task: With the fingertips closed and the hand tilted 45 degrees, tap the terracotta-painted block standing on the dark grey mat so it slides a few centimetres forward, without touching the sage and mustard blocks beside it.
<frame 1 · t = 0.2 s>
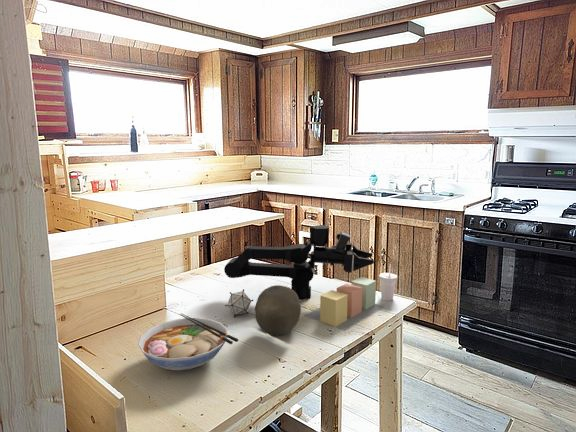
hand: (373, 258, 146), 16 cm above the table, tool horizontal, fingers open, 9 cm apart
mustard block: (333, 320, 133), point 1 cm above the table, touching grey mat
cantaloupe: (278, 335, 126), on the table
smoothie: (387, 301, 151), on the table
sage block: (363, 304, 145), point 1 cm above the table, touching grey mat
ramen bowl: (185, 362, 111), on the table
grey mat: (345, 314, 140), on the table
grey spiked polyhedron: (239, 314, 141), on the table
terracotta block: (348, 312, 139), point 1 cm above the table, touching grey mat
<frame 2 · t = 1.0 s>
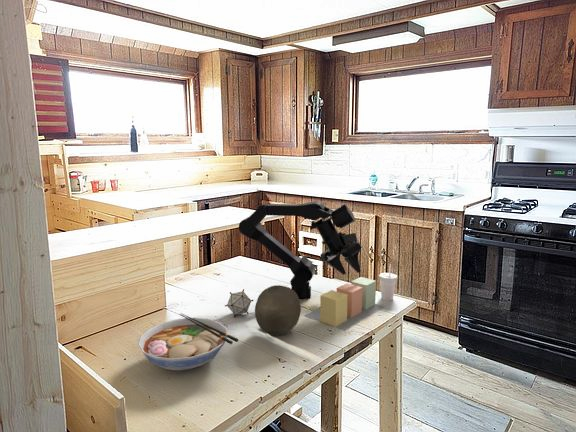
hand: (351, 273, 146), 11 cm above the table, tool tilted 30°, fingers open, 9 cm apart
nothing on the table moved.
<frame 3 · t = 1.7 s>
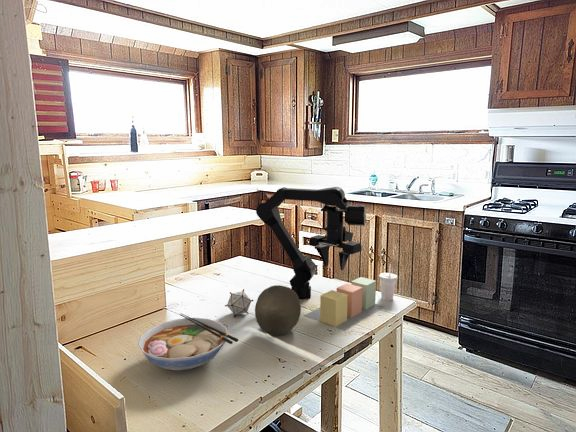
hand: (334, 268, 147), 13 cm above the table, tool pointing down, fingers open, 6 cm apart
nothing on the table moved.
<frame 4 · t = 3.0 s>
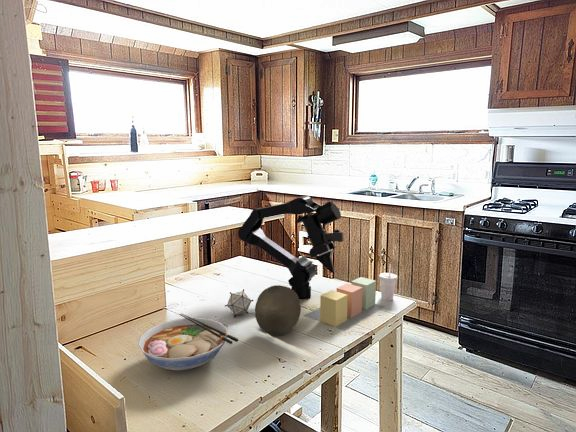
hand: (332, 272, 143), 13 cm above the table, tool tilted 30°, fingers closed
nothing on the table moved.
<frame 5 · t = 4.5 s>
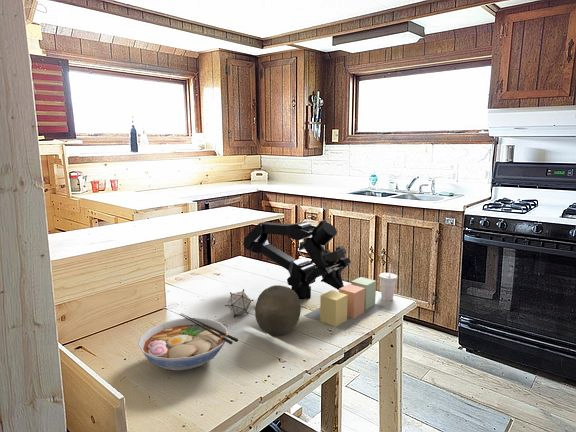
hand: (343, 291, 139), 8 cm above the table, tool tilted 45°, fingers closed, pressing on terracotta block
terracotta block: (351, 313, 138), point 1 cm above the table, touching grey mat, gripper
everything else where it was.
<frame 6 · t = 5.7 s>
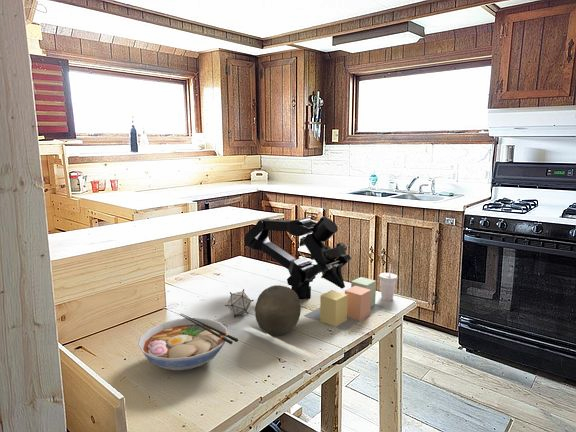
hand: (343, 287, 139), 9 cm above the table, tool tilted 45°, fingers closed
terracotta block: (357, 315, 137), point 1 cm above the table, touching grey mat
everything else where it was.
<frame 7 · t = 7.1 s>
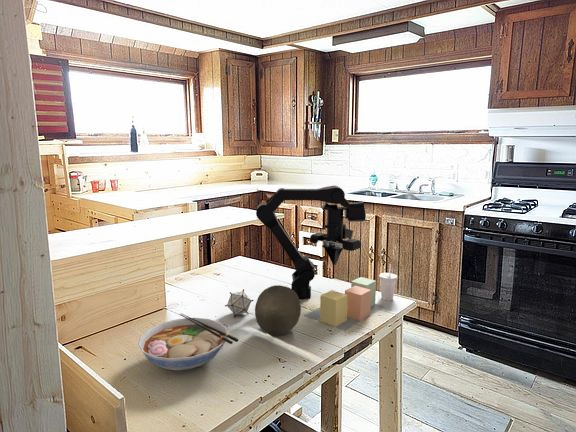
hand: (334, 264, 151), 13 cm above the table, tool pointing down, fingers closed
nothing on the table moved.
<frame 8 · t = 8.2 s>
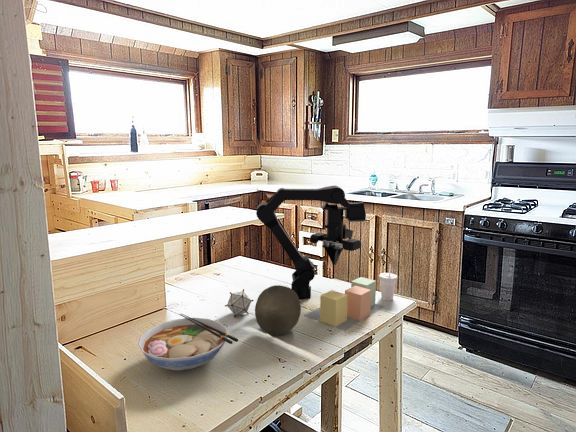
hand: (334, 264, 151), 13 cm above the table, tool pointing down, fingers closed
nothing on the table moved.
at the end: terracotta block moved 3.3 cm from its start; terracotta block tilted 0°; sage block moved 0.0 cm from its start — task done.
